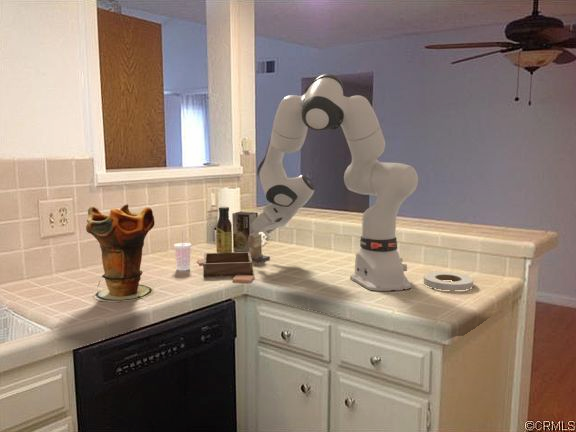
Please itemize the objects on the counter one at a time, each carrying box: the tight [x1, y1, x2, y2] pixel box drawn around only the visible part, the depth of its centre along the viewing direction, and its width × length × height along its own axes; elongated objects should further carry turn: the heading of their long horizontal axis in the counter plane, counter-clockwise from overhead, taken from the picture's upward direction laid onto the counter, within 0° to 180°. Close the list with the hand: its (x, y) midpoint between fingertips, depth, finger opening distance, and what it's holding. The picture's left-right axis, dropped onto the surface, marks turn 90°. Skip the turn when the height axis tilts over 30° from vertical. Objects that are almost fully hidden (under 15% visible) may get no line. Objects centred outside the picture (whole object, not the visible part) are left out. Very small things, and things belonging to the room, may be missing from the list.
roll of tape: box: [423, 271, 474, 291], centre depth 167 cm, size 16×15×3 cm
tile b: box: [232, 275, 255, 284], centre depth 173 cm, size 6×6×1 cm
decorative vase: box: [85, 203, 155, 303], centre depth 157 cm, size 21×23×28 cm
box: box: [202, 251, 254, 278], centre depth 186 cm, size 17×17×4 cm
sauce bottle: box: [215, 206, 233, 253], centre depth 207 cm, size 6×6×20 cm
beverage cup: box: [173, 230, 192, 271], centre depth 187 cm, size 6×6×14 cm
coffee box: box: [231, 211, 259, 252], centre depth 218 cm, size 9×6×16 cm
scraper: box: [249, 233, 271, 263], centre depth 202 cm, size 9×6×10 cm
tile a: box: [196, 258, 204, 266], centre depth 197 cm, size 6×6×1 cm
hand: (260, 234), depth 199 cm, fingers open, 8 cm apart
